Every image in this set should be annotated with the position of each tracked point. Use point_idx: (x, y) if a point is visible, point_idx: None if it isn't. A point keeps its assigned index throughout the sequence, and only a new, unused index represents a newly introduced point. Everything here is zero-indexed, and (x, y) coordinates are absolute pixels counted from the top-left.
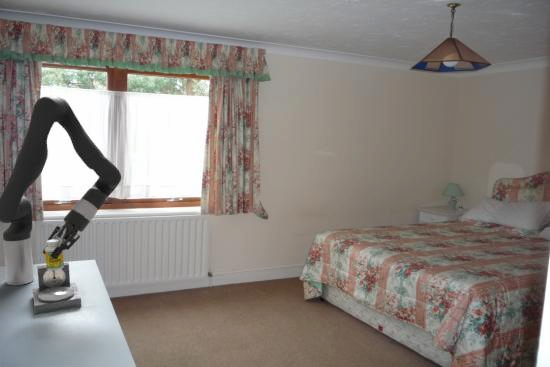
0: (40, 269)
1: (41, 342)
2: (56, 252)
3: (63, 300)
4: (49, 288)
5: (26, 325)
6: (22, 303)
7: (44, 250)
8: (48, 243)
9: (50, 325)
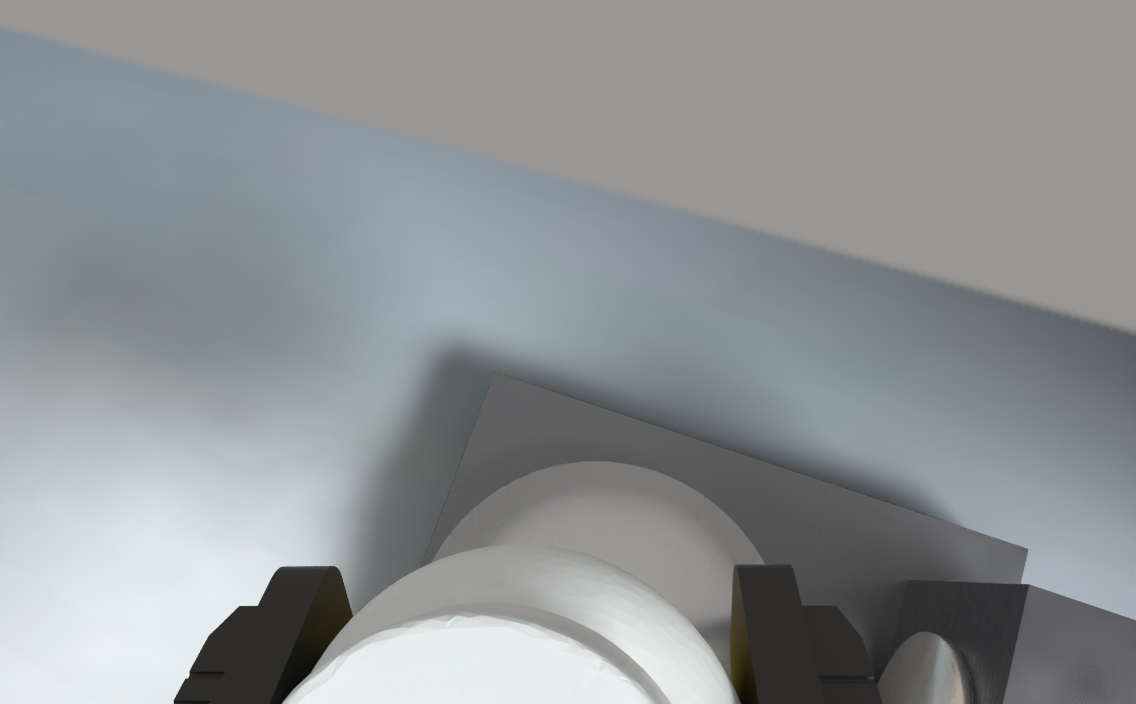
0: (1008, 623)
1: (6, 246)
2: (175, 698)
3: None
4: None
5: (355, 269)
6: (872, 410)
7: (747, 602)
8: (395, 625)
9: (206, 397)
